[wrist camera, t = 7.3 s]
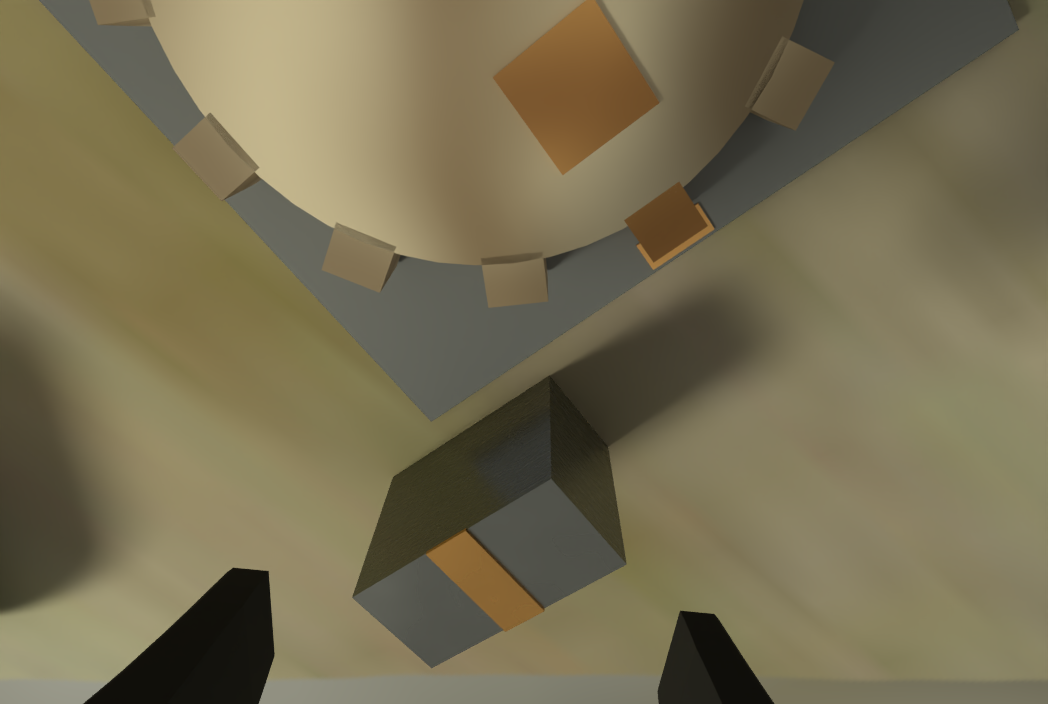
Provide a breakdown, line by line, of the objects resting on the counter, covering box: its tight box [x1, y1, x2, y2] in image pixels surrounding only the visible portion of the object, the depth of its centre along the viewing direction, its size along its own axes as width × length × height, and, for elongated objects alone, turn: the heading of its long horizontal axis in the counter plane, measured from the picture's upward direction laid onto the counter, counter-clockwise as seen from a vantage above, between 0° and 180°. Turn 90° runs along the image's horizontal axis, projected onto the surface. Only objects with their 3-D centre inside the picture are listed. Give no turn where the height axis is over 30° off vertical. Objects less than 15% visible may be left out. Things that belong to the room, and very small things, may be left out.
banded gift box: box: [352, 376, 626, 668], centre depth 18 cm, size 3×6×5 cm, turn 127°
